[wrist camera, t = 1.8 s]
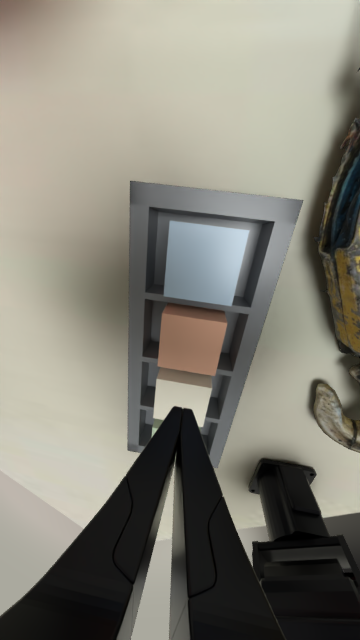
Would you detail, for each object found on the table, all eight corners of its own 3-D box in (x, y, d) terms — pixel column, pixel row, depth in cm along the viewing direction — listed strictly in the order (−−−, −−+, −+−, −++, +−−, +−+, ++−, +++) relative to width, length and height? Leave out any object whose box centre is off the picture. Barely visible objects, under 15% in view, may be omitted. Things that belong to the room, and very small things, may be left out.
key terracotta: (213, 358, 17) (214, 376, 15) (163, 349, 17) (157, 366, 15) (224, 310, 15) (227, 323, 13) (168, 302, 15) (161, 313, 13)
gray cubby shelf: (216, 441, 24) (217, 468, 21) (136, 426, 24) (127, 450, 22) (283, 207, 14) (303, 200, 11) (144, 191, 14) (130, 180, 12)
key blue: (227, 295, 15) (231, 306, 12) (169, 287, 15) (163, 296, 13) (241, 231, 13) (249, 230, 11) (175, 223, 13) (169, 220, 11)
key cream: (203, 405, 19) (202, 427, 17) (159, 397, 19) (153, 418, 17) (211, 369, 17) (212, 388, 15) (162, 361, 18) (156, 378, 15)
